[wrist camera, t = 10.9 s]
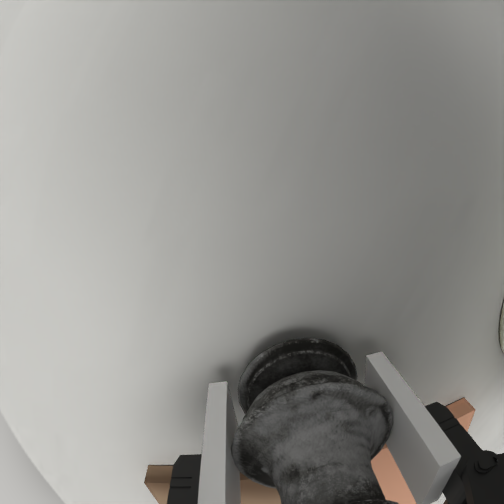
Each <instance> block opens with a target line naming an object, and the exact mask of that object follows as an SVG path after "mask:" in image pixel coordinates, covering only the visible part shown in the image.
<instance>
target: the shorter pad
mask: <svg viewBox="0 0 504 504" xmlns="http://www.w3.org/2000/svg"><path fill="white" fill-rule="evenodd" d="M172 469H173V466H155V465H148V469H147V473H146V477H145V482H144V483H145V484H146V486H147V487H148V489H149V490H150V492H151V493H152V495H153V496H154V497H155V499H156V500H157V502H158V503H159V504H167V499H168V493H169V489H170V481H171V475H172ZM240 494H241V504H281V499H280V495H279V493H278V491H277V489H275V488H269V487H266V486H263V485H261V484H258V483H255V482H253V481H252V480H250V479H249V478H247V477H246V476H245V475H243V474H242V473H241V472H240Z"/></svg>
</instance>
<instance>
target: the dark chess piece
mask: <svg viewBox="0 0 504 504" xmlns="http://www.w3.org/2000/svg"><path fill="white" fill-rule="evenodd" d="M238 396H239V403H240V405H241V407H242V409H243V411H244V413H245V414H246V415H245V416H244V418H243V421H242V423H241V425H240V426H239V428H238V429H237V430H236V432H235V433H234V437H233V441H232V444H231V453H232V457H233V460H234V463H235V465H236V467H237V468H238V470H239V471H240V472H241V473H242V474H243V475H245V476H246V477H247V478H249V479H250V480H252V481H253V482H255V483H258V484H261V485H263V486H266V487H269V488H275V489H277V491H278V493H279V495H280V499H281V504H399V503H398V502H394V501H390V500H386V499H385V496H384V494H383V492H382V489H381V487H380V485H379V483H378V480H377V478H376V476H375V473H374V471H373V469H372V465H371V460H372V459H373V458H374V457H375V456H376V455H377V454H378V453H379V452H380V451H381V449H382V448H383V446H384V445H385V443H386V442H387V440H388V438H389V436H390V433H391V429H392V426H393V415H392V409H391V408H390V406H389V404H388V402H387V401H386V399H385V397H383V396H382V395H381V394H379V393H378V392H376V391H375V390H374V389H372V388H369V387H365V386H364V385H362V384H361V383H360V382H358V381H357V373H356V368H355V364H354V363H353V361H352V359H351V358H350V356H349V354H348V353H347V352H346V351H344V350H343V349H342V348H341V347H339V346H338V345H336V344H334V343H331V342H328V341H326V340H322V339H313V338H303V339H293V340H289V341H286V342H283V343H280V344H277V345H274V346H272V347H271V348H269V349H267V350H265V351H264V352H262V353H260V354H259V355H258V356H257V357H256V358H255V359H254V360H253V361H252V362H251V363H249V364H248V366H247V368H246V369H245V371H244V373H243V374H242V376H241V378H240V383H239V387H238Z"/></svg>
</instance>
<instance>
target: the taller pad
mask: <svg viewBox="0 0 504 504" xmlns="http://www.w3.org/2000/svg"><path fill="white" fill-rule="evenodd" d="M445 407H447V408H448V409H449V410H450V411H451V413H452V414H453V415H454V418H456V419H457V420H458V421H459V422H460V425H462V426H463V427H464V429H465V430H466V431H468V428H469V426H470V423H471V420H472V418H473V415H474V412H475V409H474V408H473V406H472V405H471V404H470V403H469V402H468V401H467V400H466V399H465V398H462V399H460V400H458V401H456V402H454V403H452V404H450V405H447V406H445ZM371 465H372V469H373V471H374V473H375V476H376V478H377V480H378V483H379V485H380V487H381V489H382V492H383V494H384V496H385V499H386V500H390V501H394V502H398V503H399V504H417V503H416V501H415V499H414V497H413V495H412V493H411V491H410V489H409V488H408V486H407V484H406V482H405V480H404V478H403V476H402V474H401V472H400V470H399V468H398V466H397V464H396V462H395V460H394V458H393V456H392V455H391V453H390V451H389V449H388V447H387V445H386V443H385V445H384V446H383V448H382V449H381V451H380V452H379V453H378V454H377V455H376V456H375V457H374V458H373V459H372V460H371Z"/></svg>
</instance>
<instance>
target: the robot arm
mask: <svg viewBox="0 0 504 504" xmlns="http://www.w3.org/2000/svg"><path fill="white" fill-rule="evenodd" d="M365 387H369V388H372V389H374V390H375V391H376V392H378V393H379V394H381V395H382V396H383V397H385V399H386V401H387V402H388V404H389V406H390V408H391V409H392V415H393V426H392V429H391V433H390V436H389V438H388V440H387V442H386V445H387V447H388V449H389V451H390V453H391V455H392V456H393V458H394V460H395V462H396V464H397V466H398V468H399V470H400V472H401V474H402V476H403V478H404V480H405V482H406V484H407V486H408V488H409V489H410V491H411V493H412V495H413V497H414V499H415V501H416V503H417V504H430V503H433V502H435V501H437V500H438V499H439V497H440V496H441V494H442V492H443V494H444V495H445V497H446V500H445V502H444V503H443V504H504V453H503V454H495V453H494V452H491V451H487V450H485V451H483V450H482V449H481V448H480V447H479V446H478V445H477V444H476V442H475V441H474V440H473V439H472V437H471V436H470V435H469V434H468V432H467V431H466V430H465V429H464V427H463V426H462V425H460V422H459V421H458V420H457V419H456V418H454V415H453V414H452V413H451V411H450V410H449V409H448V408H447V407H445V406H443V405H442V404H440V403H438V402H435V403H432V404H430V405H427V406H424V405H423V404H422V402H421V401H420V400H419V398H418V397H417V396H416V395H415V393H414V392H413V391H412V389H411V388H410V387H409V385H408V384H407V383H406V382H405V380H404V379H403V378H402V376H401V375H400V374H399V372H398V371H397V370H396V369H395V367H394V366H393V365H392V364H391V362H390V361H389V360H388V358H387V357H386V356H385V355H384V353H383V352H382V351H381V352H377V353H374V354H370V355H366V367H365ZM237 429H238V423H237V419H236V415H235V411H234V408H233V404H232V400H231V396H230V392H229V387H228V383H227V381H224V382H215V383H209V386H208V396H207V405H206V415H205V425H204V436H203V446H202V454H200V455H180V456H179V458H178V459H177V461H176V462H175V464H174V465H173V469H172V475H171V481H170V489H169V493H168V499H167V504H241V494H240V471H239V470H238V468H237V467H236V465H235V463H234V460H233V457H232V453H231V444H232V441H233V437H234V433H235V432H236V430H237Z"/></svg>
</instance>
